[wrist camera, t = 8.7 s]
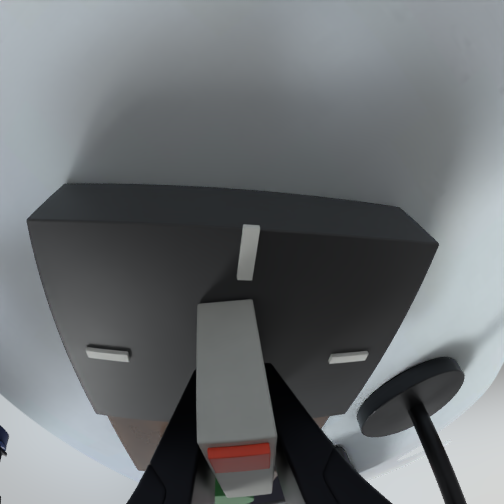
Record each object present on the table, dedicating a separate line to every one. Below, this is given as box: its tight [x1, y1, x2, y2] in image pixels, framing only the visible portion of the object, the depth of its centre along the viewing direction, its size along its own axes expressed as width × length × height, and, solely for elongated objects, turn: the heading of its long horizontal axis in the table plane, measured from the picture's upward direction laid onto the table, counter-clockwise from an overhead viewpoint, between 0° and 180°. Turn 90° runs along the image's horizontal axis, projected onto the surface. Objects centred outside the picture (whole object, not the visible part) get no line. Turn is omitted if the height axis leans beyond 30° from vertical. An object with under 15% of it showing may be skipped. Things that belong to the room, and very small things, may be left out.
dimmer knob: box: [196, 299, 277, 498], centre depth 7 cm, size 5×1×4 cm, turn 2°
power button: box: [215, 477, 254, 504], centre depth 13 cm, size 4×4×2 cm
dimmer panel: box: [27, 184, 439, 422], centre depth 10 cm, size 11×9×3 cm
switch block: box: [108, 416, 329, 481], centre depth 15 cm, size 11×9×4 cm
